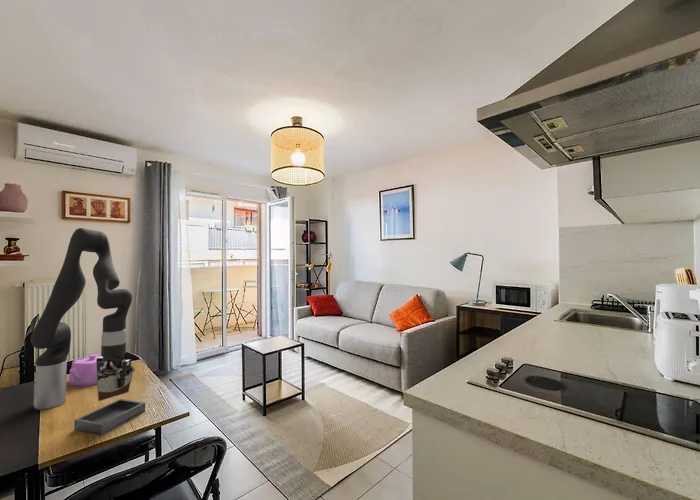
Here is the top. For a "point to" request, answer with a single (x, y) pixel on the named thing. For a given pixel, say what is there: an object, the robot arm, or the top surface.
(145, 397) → the top surface
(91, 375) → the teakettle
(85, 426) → the grey metal tray
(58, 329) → the robot arm
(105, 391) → the grey speckled half-round piece
